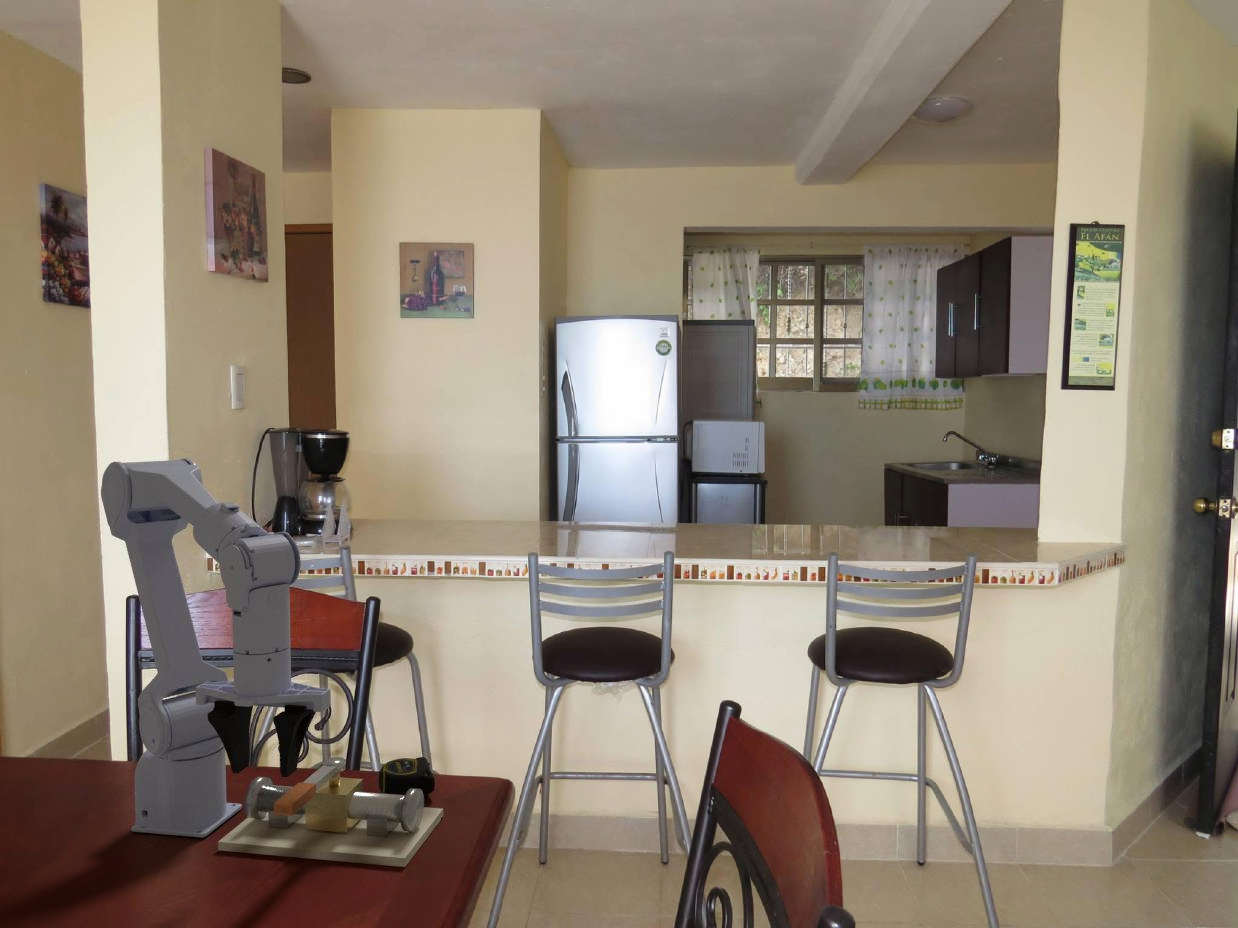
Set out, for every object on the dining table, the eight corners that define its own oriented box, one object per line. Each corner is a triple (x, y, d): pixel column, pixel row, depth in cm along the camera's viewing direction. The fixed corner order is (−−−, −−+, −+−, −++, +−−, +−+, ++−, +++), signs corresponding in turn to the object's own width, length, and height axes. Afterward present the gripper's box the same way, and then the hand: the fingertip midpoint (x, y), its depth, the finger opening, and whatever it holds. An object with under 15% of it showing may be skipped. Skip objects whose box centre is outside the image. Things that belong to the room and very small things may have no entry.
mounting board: (218, 850, 101) (218, 841, 101) (274, 803, 113) (274, 795, 113) (405, 866, 97) (405, 857, 97) (443, 816, 109) (443, 808, 109)
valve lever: (329, 765, 106) (329, 755, 106) (348, 766, 105) (348, 756, 105) (272, 814, 93) (271, 802, 93) (293, 815, 93) (293, 804, 93)
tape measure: (435, 801, 114) (435, 772, 113) (379, 808, 112) (379, 779, 111) (430, 779, 120) (430, 752, 120) (377, 786, 118) (376, 758, 118)
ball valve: (244, 826, 104) (243, 773, 104) (266, 809, 109) (265, 758, 108) (409, 840, 101) (408, 786, 101) (424, 821, 106) (423, 769, 105)
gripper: (176, 654, 93) (179, 781, 94) (307, 661, 91) (309, 791, 92) (216, 637, 100) (219, 755, 101) (339, 643, 98) (340, 764, 99)
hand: (264, 771), depth 97 cm, fingers open, 5 cm apart
